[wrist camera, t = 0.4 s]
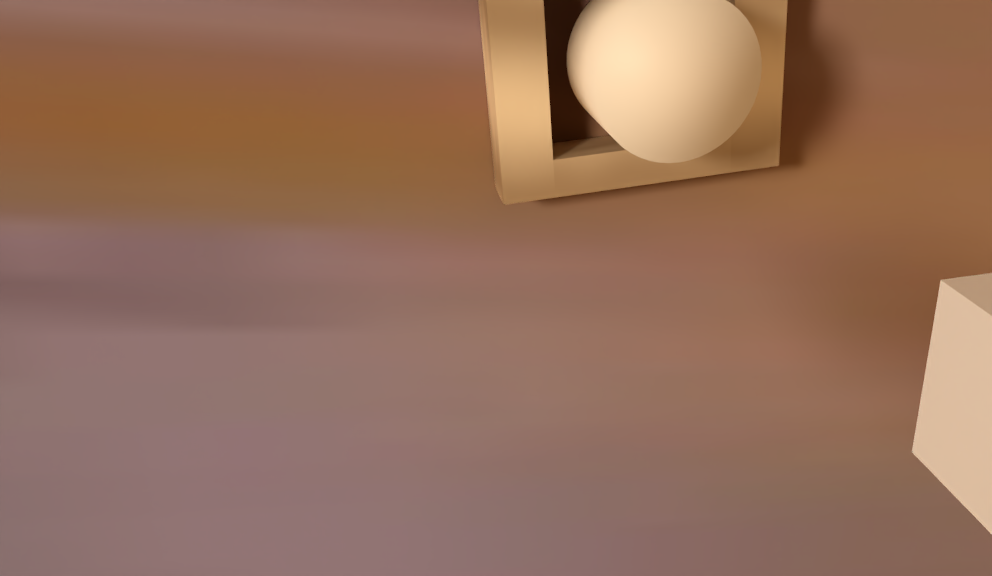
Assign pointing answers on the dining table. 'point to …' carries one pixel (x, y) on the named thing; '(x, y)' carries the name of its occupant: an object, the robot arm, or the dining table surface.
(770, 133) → the wooden ladder frame
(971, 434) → the robot arm
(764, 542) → the dining table surface
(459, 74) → the dining table surface
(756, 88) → the cream button
